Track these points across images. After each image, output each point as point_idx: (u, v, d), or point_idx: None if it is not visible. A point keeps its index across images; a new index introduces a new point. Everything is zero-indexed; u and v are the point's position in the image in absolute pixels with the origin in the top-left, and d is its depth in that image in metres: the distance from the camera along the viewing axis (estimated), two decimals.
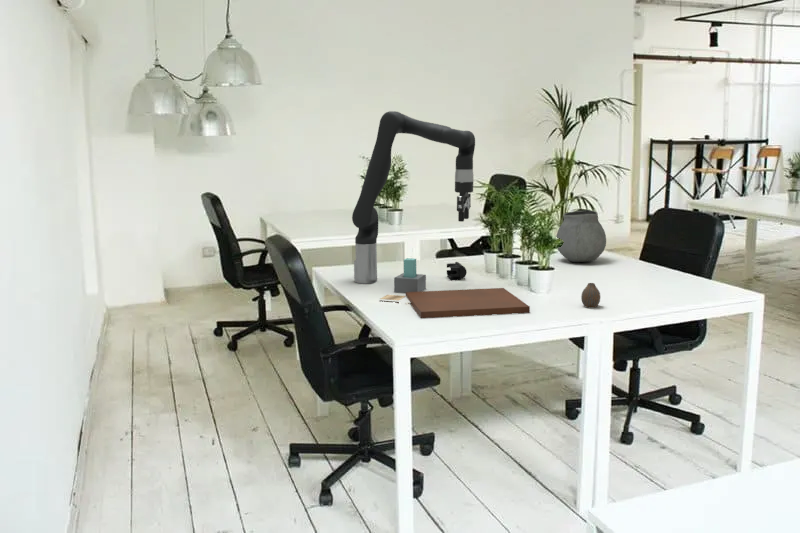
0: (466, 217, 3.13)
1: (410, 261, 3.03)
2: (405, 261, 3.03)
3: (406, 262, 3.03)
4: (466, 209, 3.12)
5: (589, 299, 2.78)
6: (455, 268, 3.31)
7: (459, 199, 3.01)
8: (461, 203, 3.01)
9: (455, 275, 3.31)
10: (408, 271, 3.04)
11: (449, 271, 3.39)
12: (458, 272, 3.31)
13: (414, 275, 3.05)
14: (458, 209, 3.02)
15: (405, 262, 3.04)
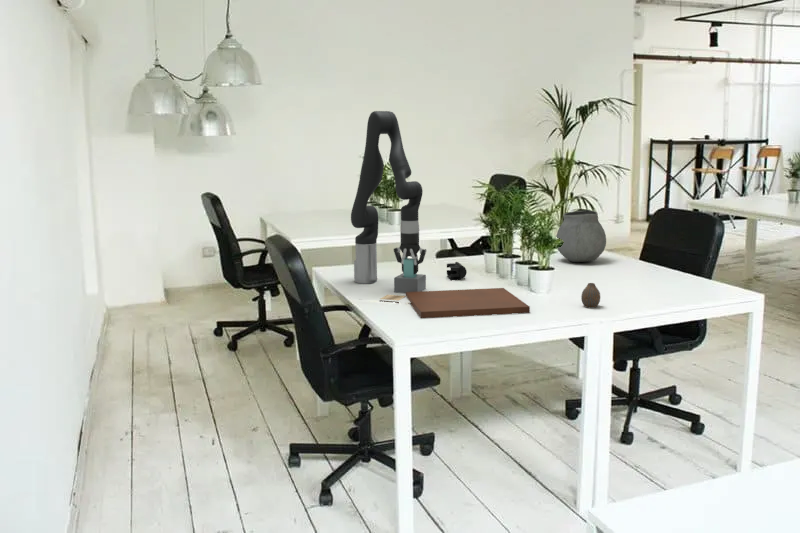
0: None
1: (410, 261, 3.03)
2: (405, 261, 3.03)
3: (406, 262, 3.03)
4: None
5: (589, 299, 2.78)
6: (455, 268, 3.31)
7: (424, 253, 3.02)
8: (424, 256, 3.03)
9: (455, 275, 3.31)
10: (408, 271, 3.04)
11: (449, 271, 3.39)
12: (458, 272, 3.31)
13: (414, 275, 3.05)
14: (421, 262, 3.03)
15: (405, 262, 3.04)
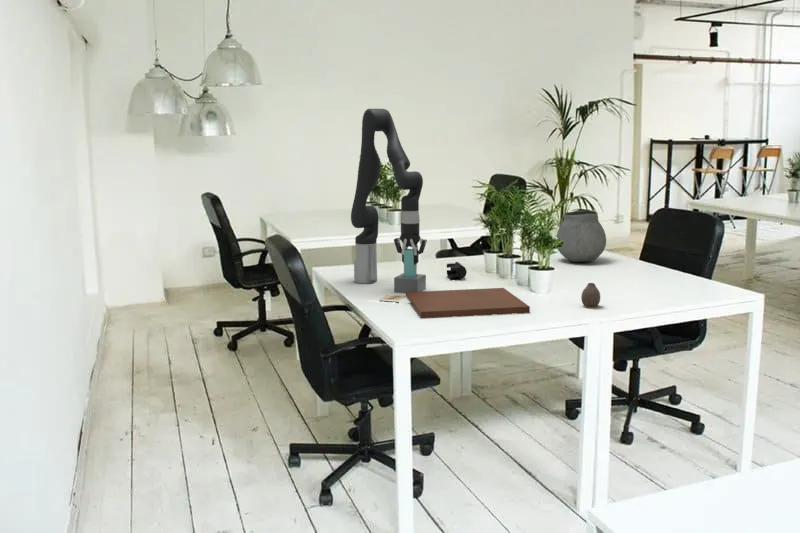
0: None
1: (410, 251, 3.02)
2: (405, 251, 3.03)
3: (407, 253, 3.03)
4: None
5: (589, 299, 2.78)
6: (455, 268, 3.31)
7: (425, 243, 3.01)
8: (424, 246, 3.02)
9: (455, 275, 3.31)
10: (408, 261, 3.03)
11: (449, 271, 3.39)
12: (458, 272, 3.31)
13: (414, 265, 3.04)
14: (421, 252, 3.02)
15: (405, 252, 3.03)
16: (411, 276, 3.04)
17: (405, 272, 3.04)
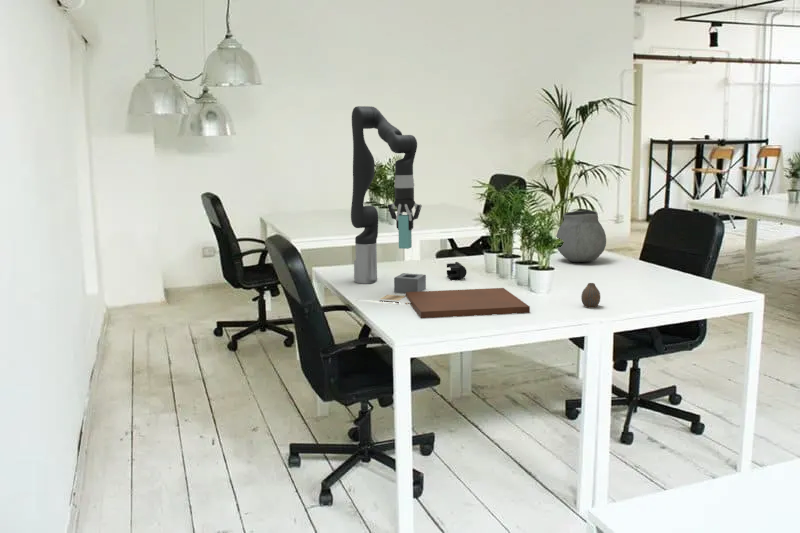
0: None
1: (405, 217, 2.95)
2: (400, 217, 2.96)
3: (401, 218, 2.96)
4: None
5: (589, 299, 2.78)
6: (455, 268, 3.31)
7: (419, 208, 2.95)
8: (419, 212, 2.96)
9: (455, 275, 3.31)
10: (403, 227, 2.96)
11: (449, 271, 3.39)
12: (458, 272, 3.31)
13: (409, 232, 2.98)
14: (416, 218, 2.95)
15: (400, 218, 2.96)
16: (406, 242, 2.97)
17: (400, 238, 2.98)
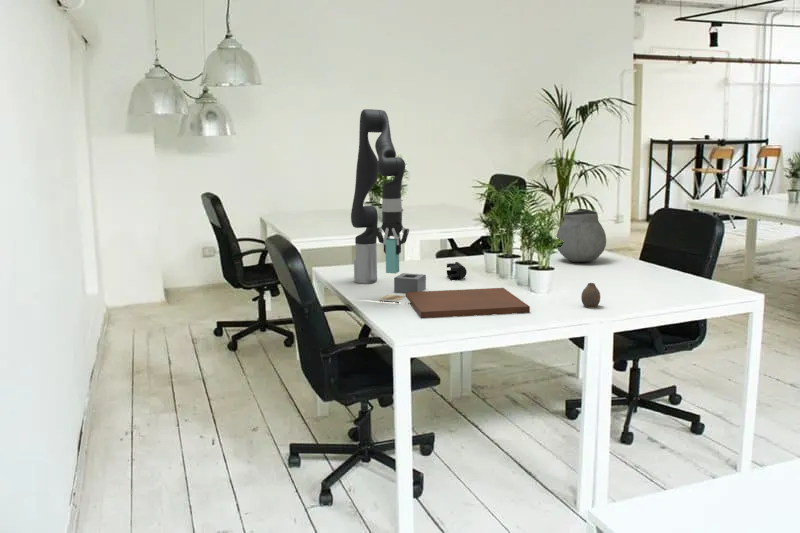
0: None
1: (392, 241, 2.89)
2: (387, 241, 2.90)
3: (389, 243, 2.89)
4: None
5: (589, 299, 2.78)
6: (455, 268, 3.31)
7: (407, 232, 2.88)
8: None
9: (455, 275, 3.31)
10: (390, 252, 2.90)
11: (449, 271, 3.39)
12: (458, 272, 3.31)
13: (397, 256, 2.91)
14: (403, 242, 2.89)
15: (387, 242, 2.90)
16: (393, 267, 2.90)
17: (387, 263, 2.91)
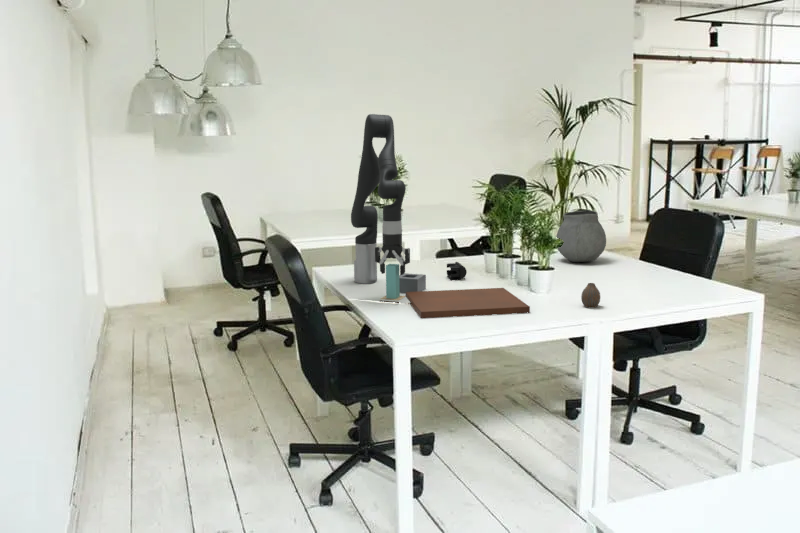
0: (384, 271, 2.95)
1: (393, 267, 2.91)
2: (387, 267, 2.91)
3: (389, 268, 2.91)
4: (383, 263, 2.94)
5: (589, 299, 2.78)
6: (455, 268, 3.31)
7: (408, 251, 2.89)
8: (409, 255, 2.90)
9: (455, 275, 3.31)
10: (390, 277, 2.92)
11: (449, 271, 3.39)
12: (458, 272, 3.31)
13: (397, 281, 2.93)
14: (408, 262, 2.89)
15: (387, 268, 2.91)
16: (393, 292, 2.92)
17: (387, 288, 2.93)
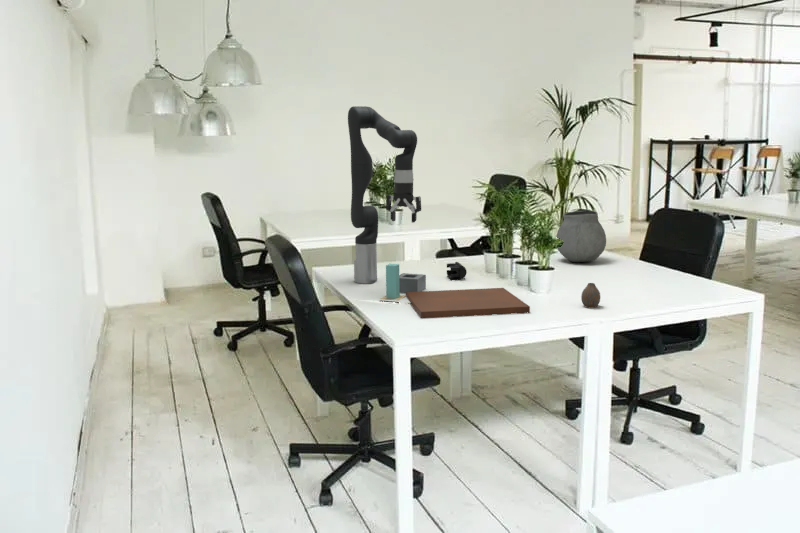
0: (394, 219, 3.03)
1: (393, 267, 2.91)
2: (387, 267, 2.91)
3: (389, 268, 2.91)
4: (394, 211, 3.03)
5: (589, 299, 2.78)
6: (455, 268, 3.31)
7: (419, 199, 2.97)
8: (420, 203, 2.98)
9: (455, 275, 3.31)
10: (390, 277, 2.92)
11: (449, 271, 3.39)
12: (458, 272, 3.31)
13: (397, 281, 2.93)
14: (419, 210, 2.98)
15: (387, 268, 2.91)
16: (393, 292, 2.92)
17: (387, 288, 2.93)
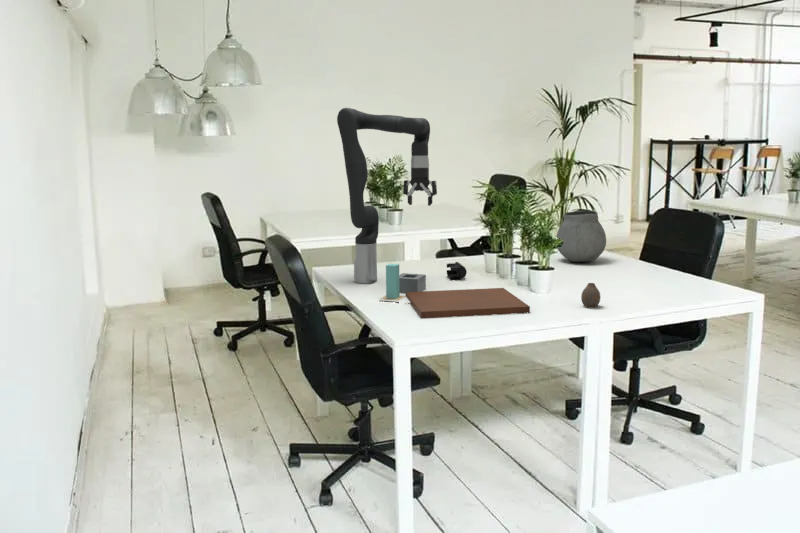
0: (411, 203, 3.20)
1: (393, 267, 2.91)
2: (387, 267, 2.91)
3: (389, 268, 2.91)
4: None
5: (589, 299, 2.78)
6: (455, 268, 3.31)
7: (435, 183, 3.14)
8: (436, 187, 3.15)
9: (455, 275, 3.31)
10: (390, 277, 2.92)
11: (449, 271, 3.39)
12: (458, 272, 3.31)
13: (397, 281, 2.93)
14: (435, 193, 3.14)
15: (387, 268, 2.91)
16: (393, 292, 2.92)
17: (387, 288, 2.93)
